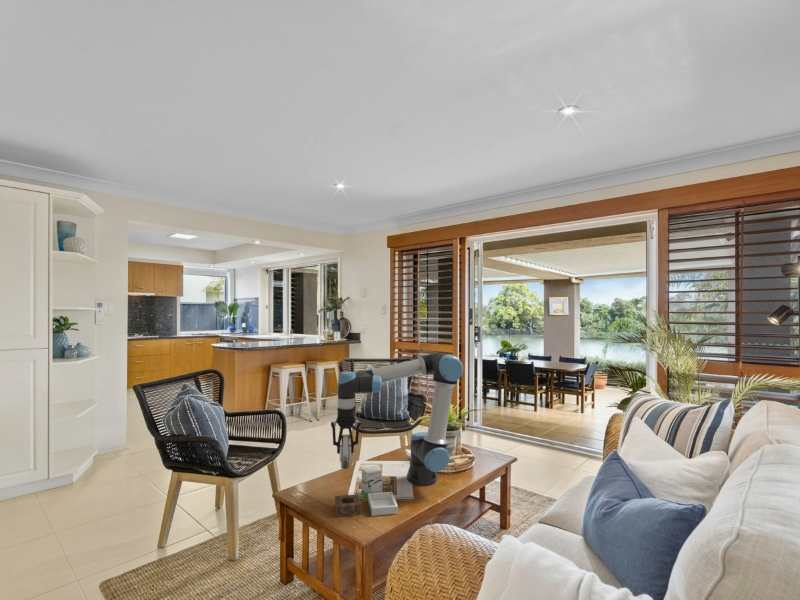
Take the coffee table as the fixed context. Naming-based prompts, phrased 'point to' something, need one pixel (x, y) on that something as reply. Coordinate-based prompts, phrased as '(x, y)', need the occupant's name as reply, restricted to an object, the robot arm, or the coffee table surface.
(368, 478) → the ink box
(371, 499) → the tray
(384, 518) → the coffee table surface
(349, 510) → the hollow square tube
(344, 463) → the cylinder
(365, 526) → the coffee table surface
